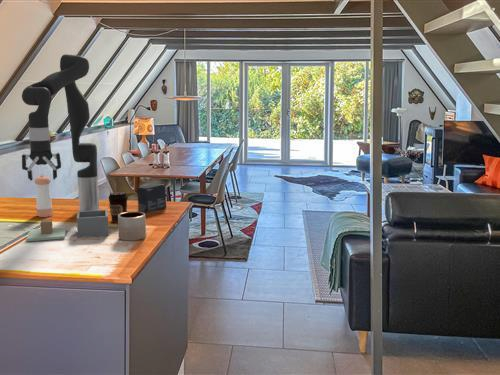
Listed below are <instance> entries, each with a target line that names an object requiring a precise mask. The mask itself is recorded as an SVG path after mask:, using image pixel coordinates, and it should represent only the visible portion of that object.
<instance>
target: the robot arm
mask: <svg viewBox="0 0 500 375" xmlns="http://www.w3.org/2000/svg"><path fill="white" fill-rule="evenodd" d="M59 68H60V69H59V70H60V71H56V72H53V73H50V74H49V75H47V76H45V77H44V78H42V79H41V81H38V82H35V83H32V84H30V85H28V86H26V87H25V88H24V89H23V90H22V92H21V100H22V101H23V103H24V104H25V105H28V106H34V107H35V106H37V109H36V110H35V111H31V112H30V113H28V126H29V128H28V129H29V131H28V139H29V151H30V153H29V154H28V153H27V154H26V153H23V154H22V155H21V169H22V170H23V171H26V172H27V178H28V180H30V181H33V170H32V169H33V167H34V166H35V165H37V166H41V165H43V166H46V165H49V167H51V168H52V180H56V179H57V178H58V170H59V169H61V168H62V161H61V155H60V152H57V153H52V148H51V147H52V144H51V132H50V127H49V114H50V107H51V105H52V104H51V103H52V97H53V96H54V95H56V94H57V93H58V92H60V91H61V90H62V89H63V88H64V91H65V98H66V106H67V108H66V109H67V114H68V121H69V127H70V134H71V136H70V137H71V147H72V149H71V150H72V157H73V160H74V162H75V163H89V165H88V166H86V167H84V168H81V169H79V170H78V171H77V174H76V175H77V189H78V191H77V192H78V207H79V210H78V211H93V210H100V198H99V196H100V195H99V181H98V180H99V179H98V176H99V175H98V149H97V144H96V143H94V142H80V138H81V136H82V133H83V131H84V129H85V128H86V127H87V124H88V123H89V120H90V119H91V118H90V117H91V116H90V107H89V103H88V101H87V99H86V97H85V96H84V94H83V93H82V91H81V90H80V89H79V87H78V86H77V83H76V82H77V81H78V80H80V79H82V78H85V77H86V76H87V75H88V73H89V72H90V71H89V70H90V62H89V59H88V58H87V57H85V56H83V55H76V54H67V53H65V54H62V56H61V57H60V60H59ZM29 158H30V160H31V161H32V162H31V163H30V165H29V166H27V160H29ZM52 158H54V159H55V160H56V164H57V165H55V164H54V162H53V161H52Z"/></svg>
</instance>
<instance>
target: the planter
mask: <svg viewBox="0 0 500 375" xmlns="http://www.w3.org/2000/svg"><path fill="white" fill-rule="evenodd" d="M145 213H146V212H144V211H136V210H135V211H127V212H124V213H120V214H119V215H118V222H117V230H118V231H117V232H118V238H119V239H120V240H121V241H125V242H136V241H139V240H143V239H145V238H146V237H147V226H146V225H147V224H146V214H145Z"/></svg>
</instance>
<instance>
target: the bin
mask: <svg viewBox="0 0 500 375" xmlns="http://www.w3.org/2000/svg"><path fill="white" fill-rule="evenodd" d="M108 213H109V212H108V209H99V210H93V211H79V210H78V211H77V213H76V214H77V215H76V230H77V238H78V239H79V238H91V237H92V238H93V237H94V238H95V237H105V236H109V231H110V230H109V214H108Z"/></svg>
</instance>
